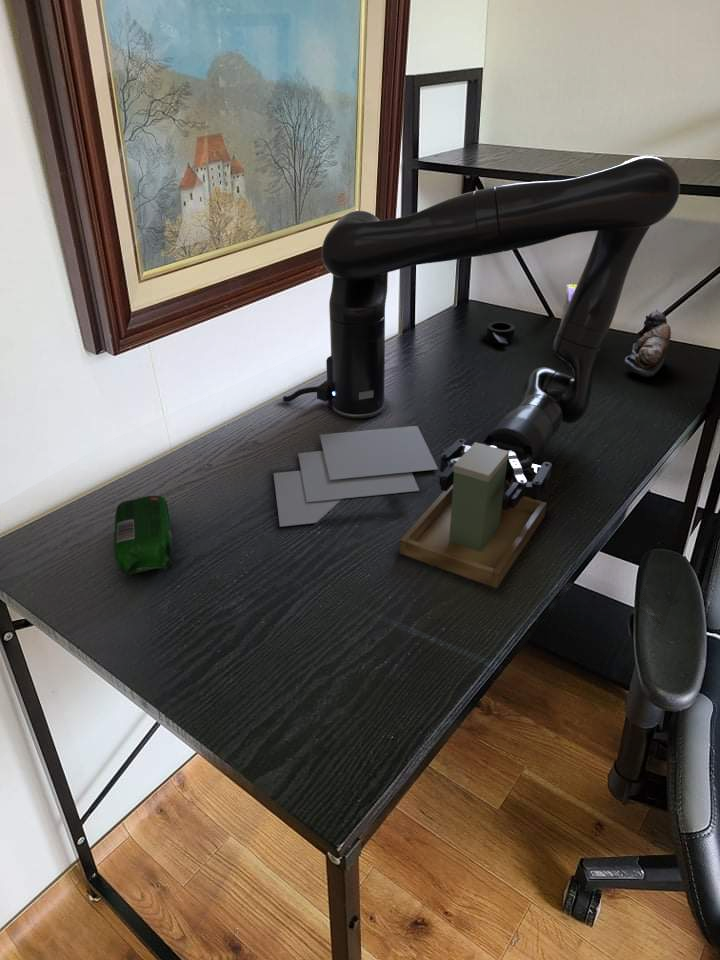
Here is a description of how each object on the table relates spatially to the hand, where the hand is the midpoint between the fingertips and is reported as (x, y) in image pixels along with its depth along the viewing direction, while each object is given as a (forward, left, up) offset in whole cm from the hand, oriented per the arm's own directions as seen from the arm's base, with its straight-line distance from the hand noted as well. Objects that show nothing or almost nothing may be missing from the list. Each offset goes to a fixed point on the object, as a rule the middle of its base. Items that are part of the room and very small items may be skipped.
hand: (473, 494), depth 93 cm
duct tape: (-23, +68, -8) cm, 72 cm away
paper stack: (-22, +7, -8) cm, 24 cm away
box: (-8, +71, -8) cm, 72 cm away
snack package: (-36, -23, -8) cm, 44 cm away
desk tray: (0, +2, -8) cm, 8 cm away
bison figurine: (+7, +68, -8) cm, 69 cm away
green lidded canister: (0, +2, -8) cm, 8 cm away
